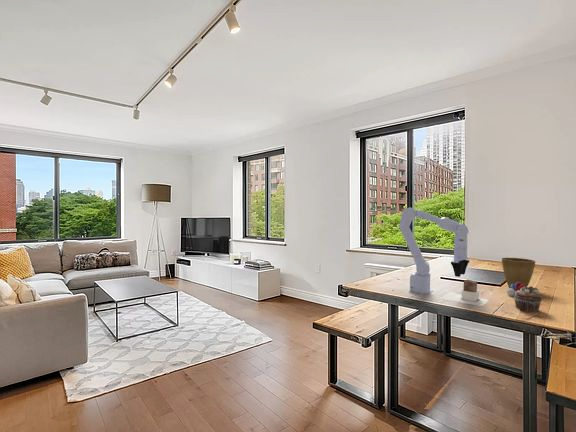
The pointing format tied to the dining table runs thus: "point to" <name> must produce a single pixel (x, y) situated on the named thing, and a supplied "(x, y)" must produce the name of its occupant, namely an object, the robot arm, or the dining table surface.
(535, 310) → the cupcake
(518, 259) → the plant pot
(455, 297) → the felt mat
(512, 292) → the multicoloured rounded cluster
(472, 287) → the walnut cube
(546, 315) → the dining table surface
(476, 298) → the base block
